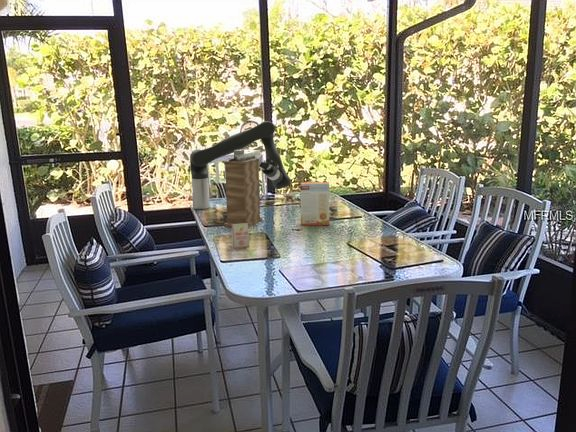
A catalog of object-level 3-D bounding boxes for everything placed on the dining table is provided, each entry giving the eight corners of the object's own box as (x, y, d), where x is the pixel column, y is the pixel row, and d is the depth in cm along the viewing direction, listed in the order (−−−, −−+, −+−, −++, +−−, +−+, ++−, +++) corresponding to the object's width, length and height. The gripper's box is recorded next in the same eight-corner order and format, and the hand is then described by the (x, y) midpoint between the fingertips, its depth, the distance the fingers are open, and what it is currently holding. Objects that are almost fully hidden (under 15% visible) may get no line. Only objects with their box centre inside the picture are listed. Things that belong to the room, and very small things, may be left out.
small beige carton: (231, 246, 212) (231, 223, 210) (247, 244, 214) (246, 222, 212) (233, 248, 209) (232, 225, 207) (249, 247, 211) (248, 224, 208)
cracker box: (329, 222, 250) (329, 181, 245) (329, 225, 244) (329, 183, 239) (301, 222, 252) (301, 181, 247) (300, 225, 246) (300, 183, 241)
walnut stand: (246, 228, 240) (244, 159, 233) (224, 226, 245) (222, 158, 237) (262, 220, 256) (261, 155, 249) (241, 218, 261) (240, 155, 253)
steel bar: (240, 161, 238) (240, 150, 237) (234, 160, 239) (233, 150, 238) (260, 156, 258) (260, 146, 257) (254, 155, 259) (254, 146, 258)
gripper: (260, 164, 279) (249, 152, 265) (284, 165, 274) (273, 153, 259) (258, 176, 277) (246, 165, 263) (281, 178, 272) (270, 166, 257)
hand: (259, 159), depth 261 cm, fingers open, 8 cm apart
